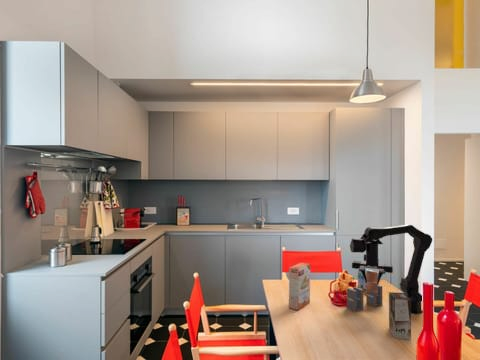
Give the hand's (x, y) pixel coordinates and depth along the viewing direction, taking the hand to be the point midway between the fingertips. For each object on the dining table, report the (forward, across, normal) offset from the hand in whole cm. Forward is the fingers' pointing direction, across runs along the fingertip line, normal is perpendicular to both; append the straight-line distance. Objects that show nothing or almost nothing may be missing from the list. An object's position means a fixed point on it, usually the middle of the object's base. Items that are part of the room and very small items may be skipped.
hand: (372, 283), depth 155 cm
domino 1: (+13, +9, +4) cm, 17 cm away
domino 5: (+13, -2, -10) cm, 17 cm away
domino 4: (+13, +1, -7) cm, 15 cm away
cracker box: (+14, +34, +11) cm, 38 cm away
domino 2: (+13, +6, 0) cm, 15 cm away
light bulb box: (+13, +4, -34) cm, 37 cm away
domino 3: (+4, 0, 0) cm, 4 cm away
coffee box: (+13, -12, +22) cm, 29 cm away
